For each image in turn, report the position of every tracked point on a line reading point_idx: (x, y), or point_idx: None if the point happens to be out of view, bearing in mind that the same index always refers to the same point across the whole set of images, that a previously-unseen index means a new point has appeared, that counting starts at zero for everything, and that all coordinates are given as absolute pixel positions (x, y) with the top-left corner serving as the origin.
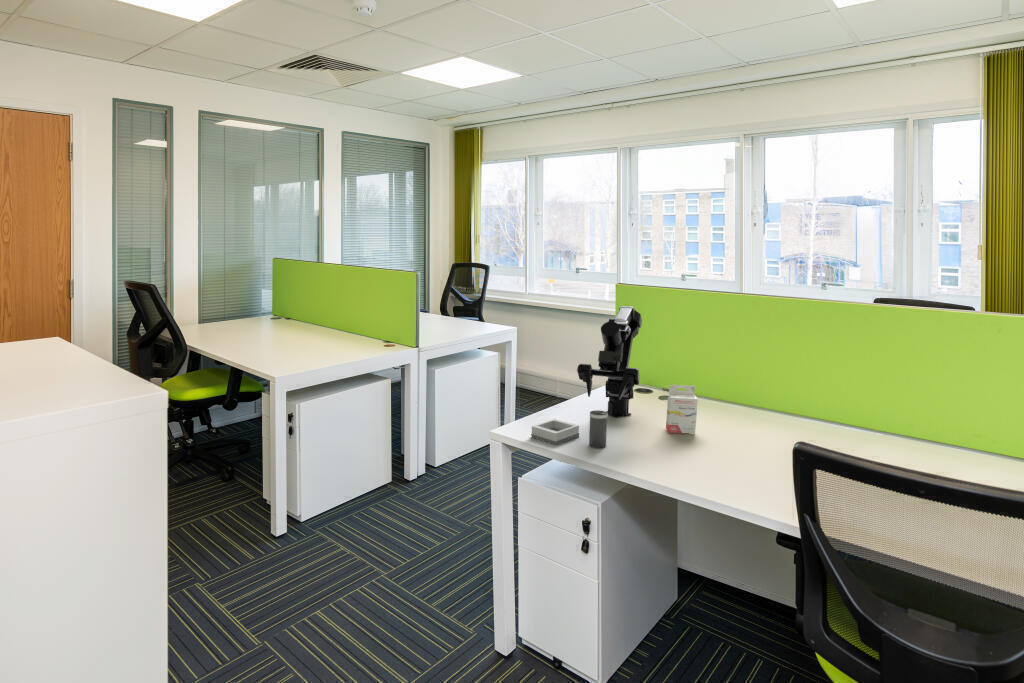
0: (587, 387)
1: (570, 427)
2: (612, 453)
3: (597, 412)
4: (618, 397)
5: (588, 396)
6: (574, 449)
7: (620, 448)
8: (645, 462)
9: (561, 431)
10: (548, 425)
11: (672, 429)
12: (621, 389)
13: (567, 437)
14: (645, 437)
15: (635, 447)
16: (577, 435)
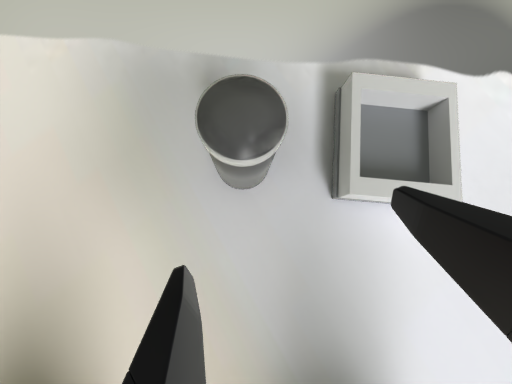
0: (472, 206)
1: (357, 153)
2: (174, 134)
3: (250, 119)
4: (181, 266)
5: (396, 198)
6: None
7: (174, 186)
8: (62, 130)
9: (352, 98)
10: (440, 159)
11: None
12: (156, 339)
13: (338, 138)
14: None
15: (140, 225)
16: (334, 189)
